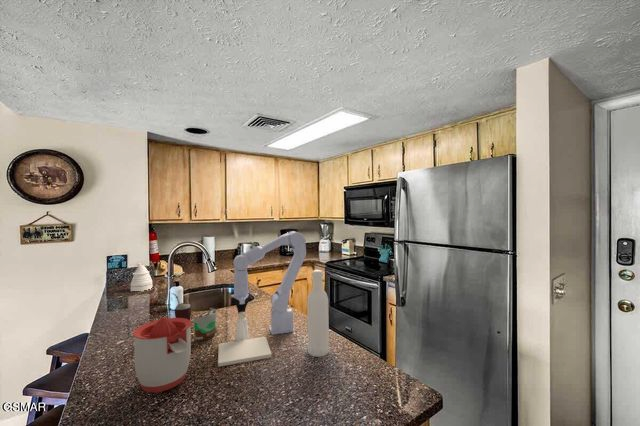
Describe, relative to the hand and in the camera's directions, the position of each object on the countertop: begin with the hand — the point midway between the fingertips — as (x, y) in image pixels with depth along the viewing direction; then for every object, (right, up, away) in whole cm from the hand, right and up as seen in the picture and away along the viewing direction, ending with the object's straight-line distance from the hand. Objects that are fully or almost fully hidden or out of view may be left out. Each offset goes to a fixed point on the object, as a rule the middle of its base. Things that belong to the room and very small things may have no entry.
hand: (241, 316), depth 119 cm
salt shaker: (+1, -8, -4) cm, 9 cm away
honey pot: (-91, -10, +76) cm, 119 cm away
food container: (-14, -9, -1) cm, 16 cm away
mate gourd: (-33, -9, +17) cm, 38 cm away
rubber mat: (+5, -8, -14) cm, 17 cm away
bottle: (+33, -8, -15) cm, 37 cm away
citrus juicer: (-14, -9, -33) cm, 37 cm away
